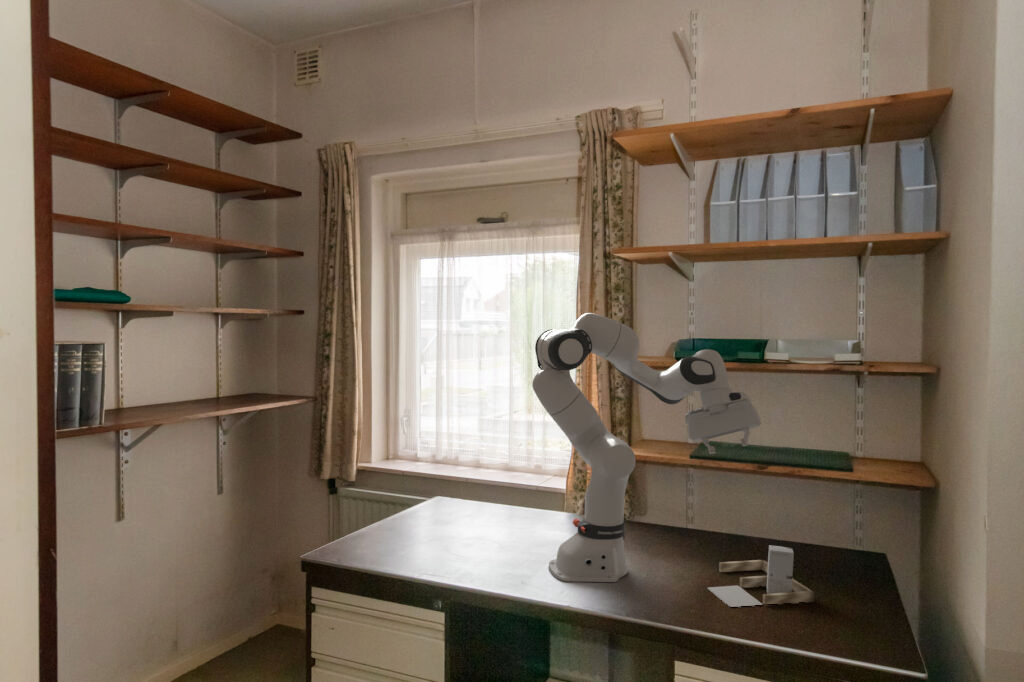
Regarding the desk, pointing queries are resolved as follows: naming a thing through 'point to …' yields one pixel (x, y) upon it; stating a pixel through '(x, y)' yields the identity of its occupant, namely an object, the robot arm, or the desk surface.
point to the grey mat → (734, 596)
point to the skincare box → (779, 569)
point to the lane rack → (755, 581)
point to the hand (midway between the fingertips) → (728, 449)
